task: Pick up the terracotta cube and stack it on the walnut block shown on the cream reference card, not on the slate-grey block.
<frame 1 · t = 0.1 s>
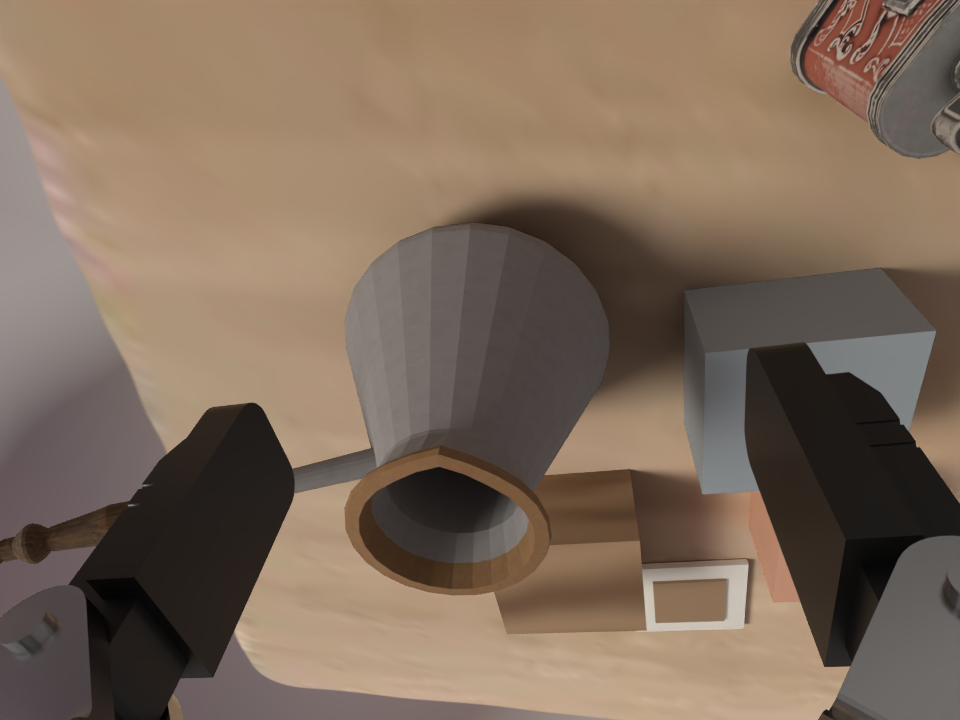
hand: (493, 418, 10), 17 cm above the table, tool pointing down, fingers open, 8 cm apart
walnut block: (565, 518, 38), on the table
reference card: (687, 594, 41), on the table
coffee pot: (379, 308, 30), on the table
terracotta cube: (798, 493, 35), on the table
slate block: (771, 351, 30), on the table
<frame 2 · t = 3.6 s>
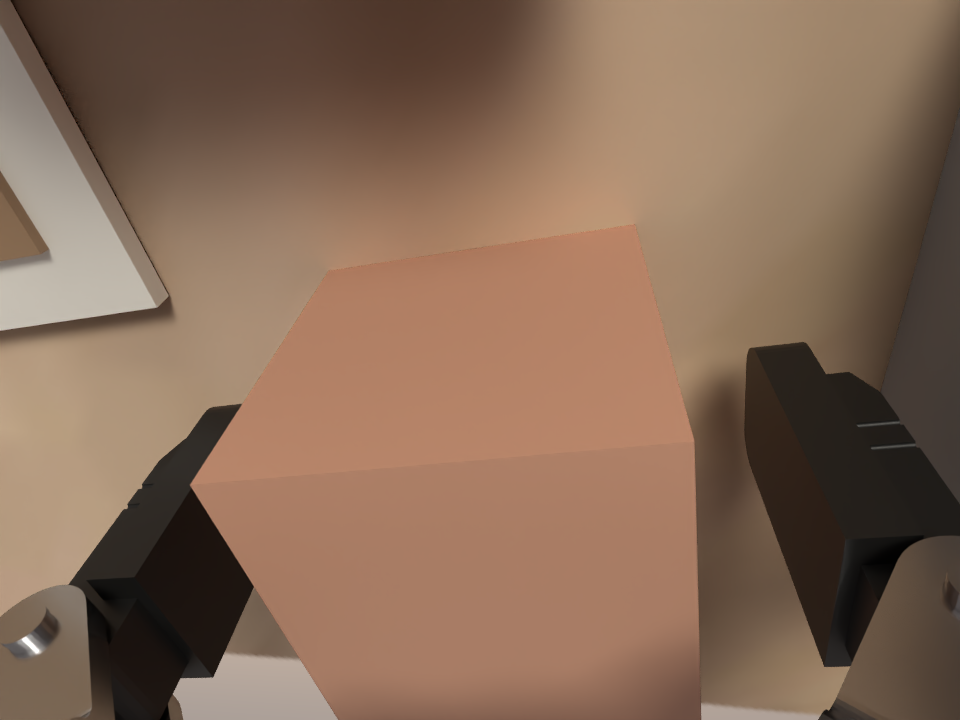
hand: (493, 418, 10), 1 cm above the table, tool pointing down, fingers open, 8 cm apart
terracotta cube: (503, 372, 11), on the table
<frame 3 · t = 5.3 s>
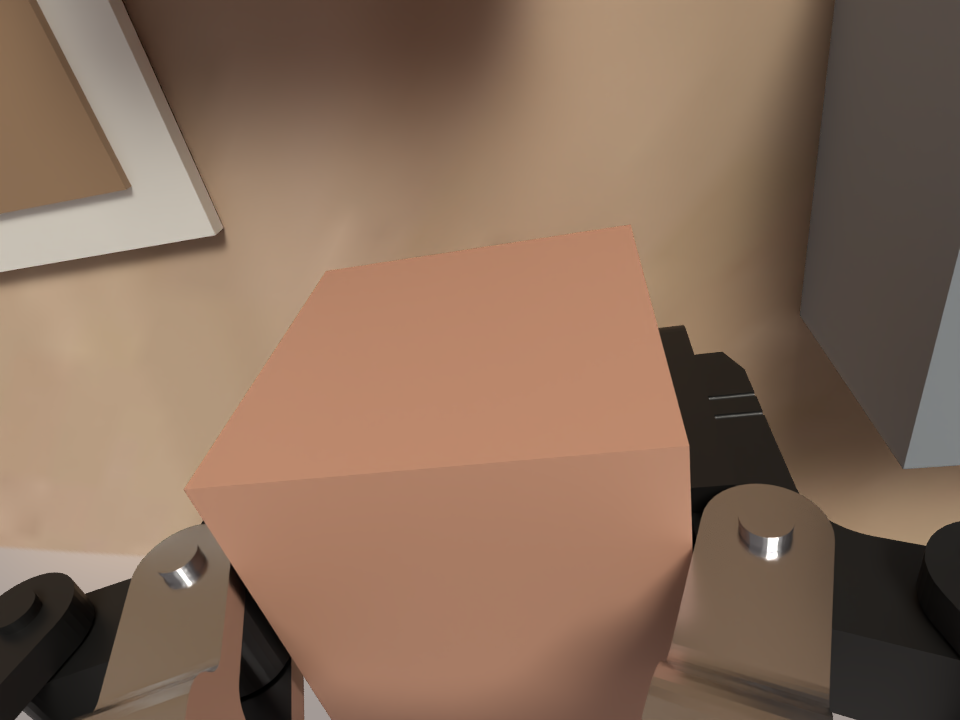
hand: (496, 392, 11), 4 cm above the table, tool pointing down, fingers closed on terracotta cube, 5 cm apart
terracotta cube: (499, 374, 11), point 3 cm above the table, touching gripper
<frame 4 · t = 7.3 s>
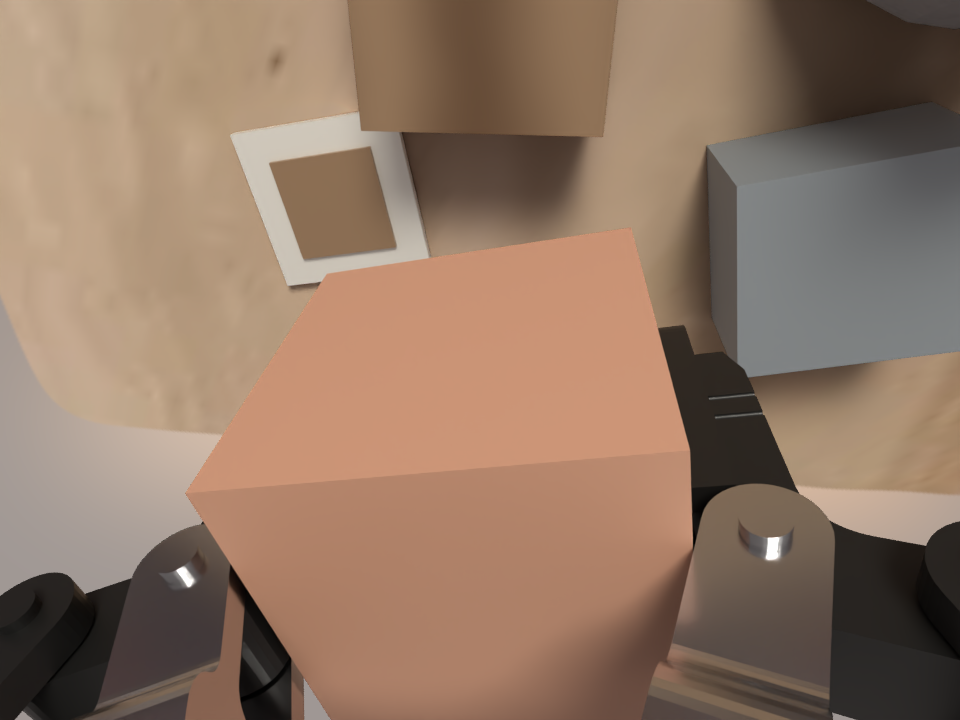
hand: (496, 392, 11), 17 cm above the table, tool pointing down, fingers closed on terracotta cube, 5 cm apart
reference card: (338, 201, 28), on the table
terracotta cube: (500, 376, 11), point 17 cm above the table, touching gripper
slate block: (807, 219, 26), on the table
when the fingers open (7 cm above the table, at t = 10.5 s): terracotta cube drops 2 cm, point 5 cm above the table.
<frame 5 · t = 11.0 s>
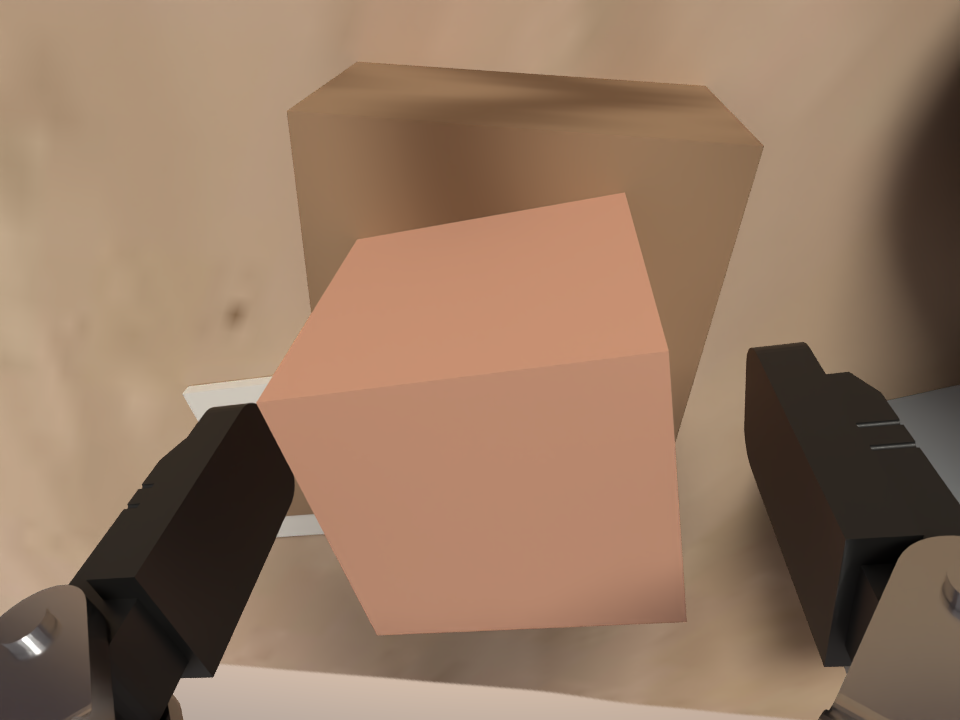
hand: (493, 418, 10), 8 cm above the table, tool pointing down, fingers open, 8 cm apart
walnut block: (515, 232, 17), on the table
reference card: (322, 455, 22), on the table
terracotta cube: (511, 332, 13), point 5 cm above the table
slate block: (926, 481, 20), on the table
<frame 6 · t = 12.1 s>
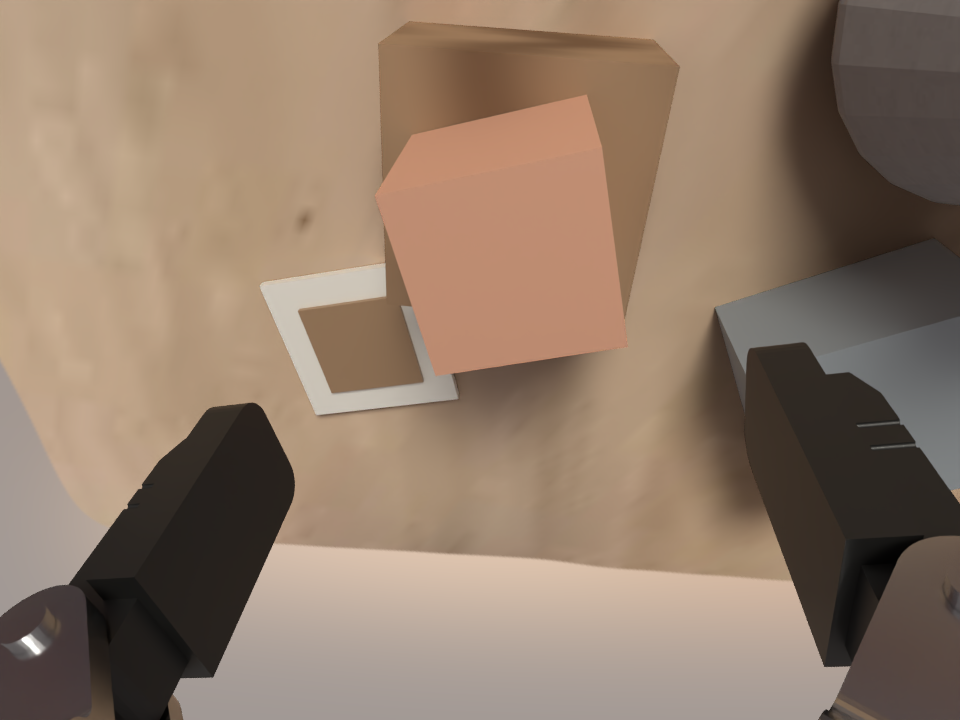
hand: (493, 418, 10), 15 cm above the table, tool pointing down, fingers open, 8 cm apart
walnut block: (519, 151, 23), on the table
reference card: (365, 340, 28), on the table
terracotta cube: (515, 200, 19), point 5 cm above the table
slate block: (831, 351, 27), on the table
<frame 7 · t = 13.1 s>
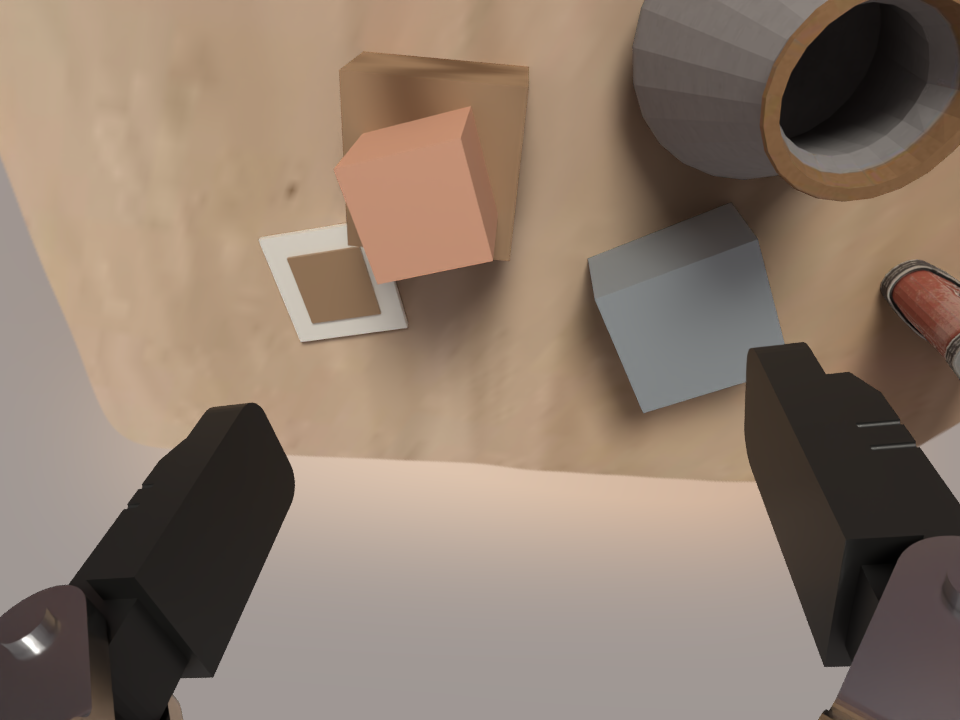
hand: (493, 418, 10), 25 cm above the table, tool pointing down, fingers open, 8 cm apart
walnut block: (443, 142, 33), on the table, touching terracotta cube
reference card: (337, 282, 38), on the table
terracotta cube: (432, 175, 29), point 5 cm above the table, touching walnut block
slate block: (676, 288, 37), on the table
lighter: (935, 305, 36), on the table
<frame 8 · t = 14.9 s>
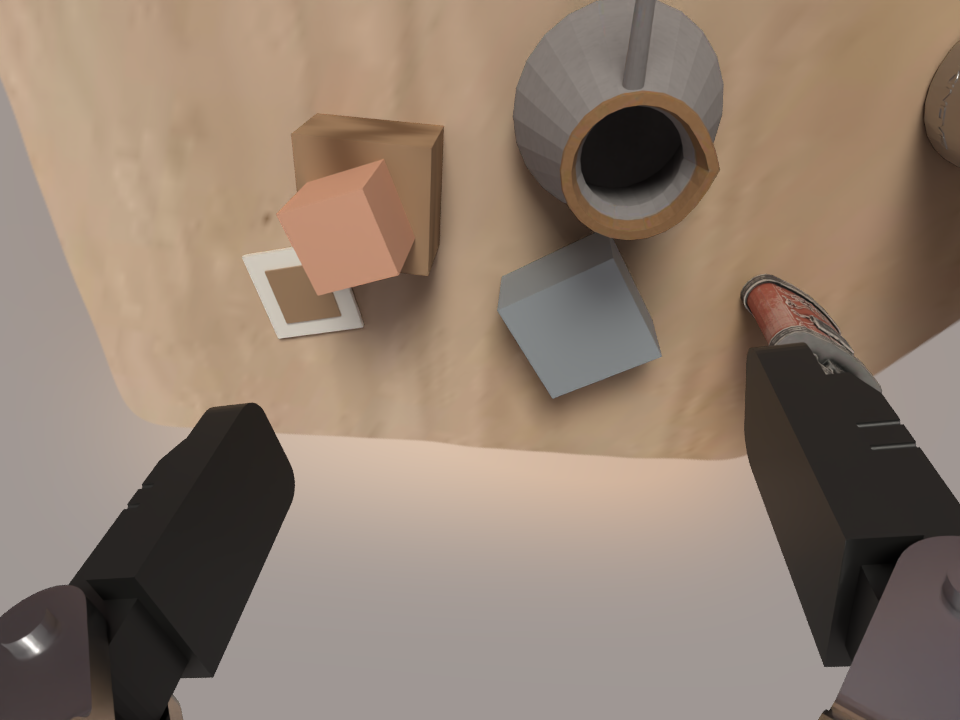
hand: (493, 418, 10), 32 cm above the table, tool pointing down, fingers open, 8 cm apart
walnut block: (382, 181, 42), on the table, touching terracotta cube
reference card: (305, 290, 47), on the table
coffee pot: (618, 7, 35), on the table
terracotta cube: (361, 210, 38), point 5 cm above the table, touching walnut block
slate block: (577, 296, 45), on the table
lighter: (788, 310, 44), on the table
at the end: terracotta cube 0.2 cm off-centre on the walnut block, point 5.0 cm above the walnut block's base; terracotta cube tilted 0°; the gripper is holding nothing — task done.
